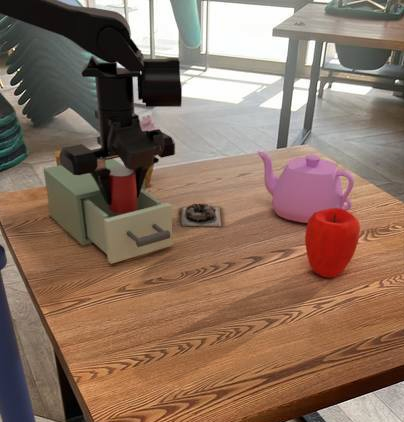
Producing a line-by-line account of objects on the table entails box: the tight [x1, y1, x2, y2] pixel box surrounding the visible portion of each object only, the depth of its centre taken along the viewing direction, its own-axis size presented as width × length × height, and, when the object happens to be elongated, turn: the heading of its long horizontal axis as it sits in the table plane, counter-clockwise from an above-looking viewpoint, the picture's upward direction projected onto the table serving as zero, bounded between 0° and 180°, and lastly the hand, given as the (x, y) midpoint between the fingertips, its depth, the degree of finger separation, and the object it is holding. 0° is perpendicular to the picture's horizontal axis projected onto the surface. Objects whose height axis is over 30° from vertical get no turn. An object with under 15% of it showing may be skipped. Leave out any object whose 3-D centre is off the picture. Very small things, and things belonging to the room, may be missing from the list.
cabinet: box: [42, 158, 146, 247], centre depth 109 cm, size 15×14×10 cm
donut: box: [180, 202, 222, 227], centre depth 114 cm, size 8×8×2 cm
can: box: [108, 165, 137, 214], centre depth 98 cm, size 5×5×6 cm
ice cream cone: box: [140, 114, 158, 189], centre depth 121 cm, size 7×6×15 cm
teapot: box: [256, 150, 355, 224], centre depth 113 cm, size 20×13×12 cm, turn 72°
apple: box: [304, 208, 361, 279], centre depth 96 cm, size 9×9×11 cm
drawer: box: [81, 189, 173, 265], centre depth 101 cm, size 18×12×8 cm
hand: (122, 201), depth 99 cm, fingers closed on can, 5 cm apart
